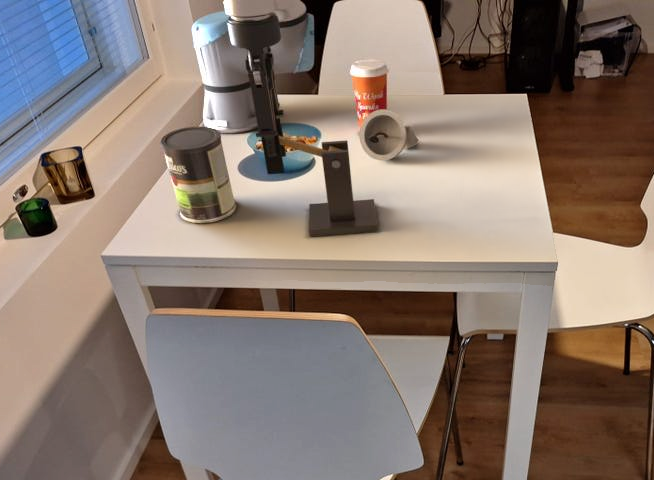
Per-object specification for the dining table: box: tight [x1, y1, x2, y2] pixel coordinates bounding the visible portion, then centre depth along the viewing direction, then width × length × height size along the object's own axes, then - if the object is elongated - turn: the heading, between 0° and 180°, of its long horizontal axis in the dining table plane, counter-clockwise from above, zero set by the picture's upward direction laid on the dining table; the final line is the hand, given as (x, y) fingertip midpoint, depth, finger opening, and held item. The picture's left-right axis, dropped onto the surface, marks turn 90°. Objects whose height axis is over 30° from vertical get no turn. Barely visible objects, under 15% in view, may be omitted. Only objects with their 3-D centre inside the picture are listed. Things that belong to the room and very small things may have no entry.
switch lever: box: [276, 129, 342, 158], centre depth 112 cm, size 13×6×2 cm, turn 96°
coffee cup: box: [349, 58, 390, 129], centre depth 147 cm, size 8×8×15 cm
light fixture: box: [359, 109, 419, 161], centre depth 140 cm, size 11×16×10 cm, turn 164°
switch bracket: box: [308, 139, 378, 238], centre depth 117 cm, size 12×10×14 cm
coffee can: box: [159, 126, 237, 224], centre depth 121 cm, size 10×10×14 cm
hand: (277, 164), depth 113 cm, fingers closed on switch lever, 6 cm apart
